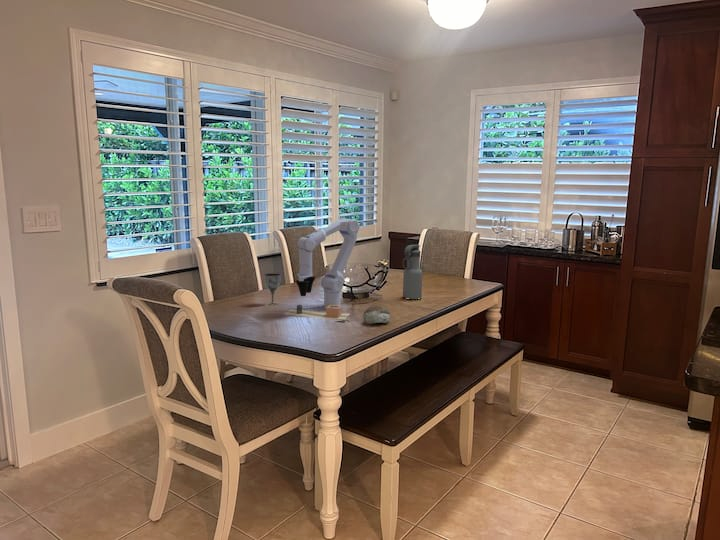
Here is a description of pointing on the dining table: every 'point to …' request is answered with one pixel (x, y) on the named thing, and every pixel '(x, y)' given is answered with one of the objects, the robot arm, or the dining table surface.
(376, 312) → the grey rounded lump
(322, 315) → the board
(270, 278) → the wine glass
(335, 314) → the collar
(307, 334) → the dining table surface
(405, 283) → the water bottle
